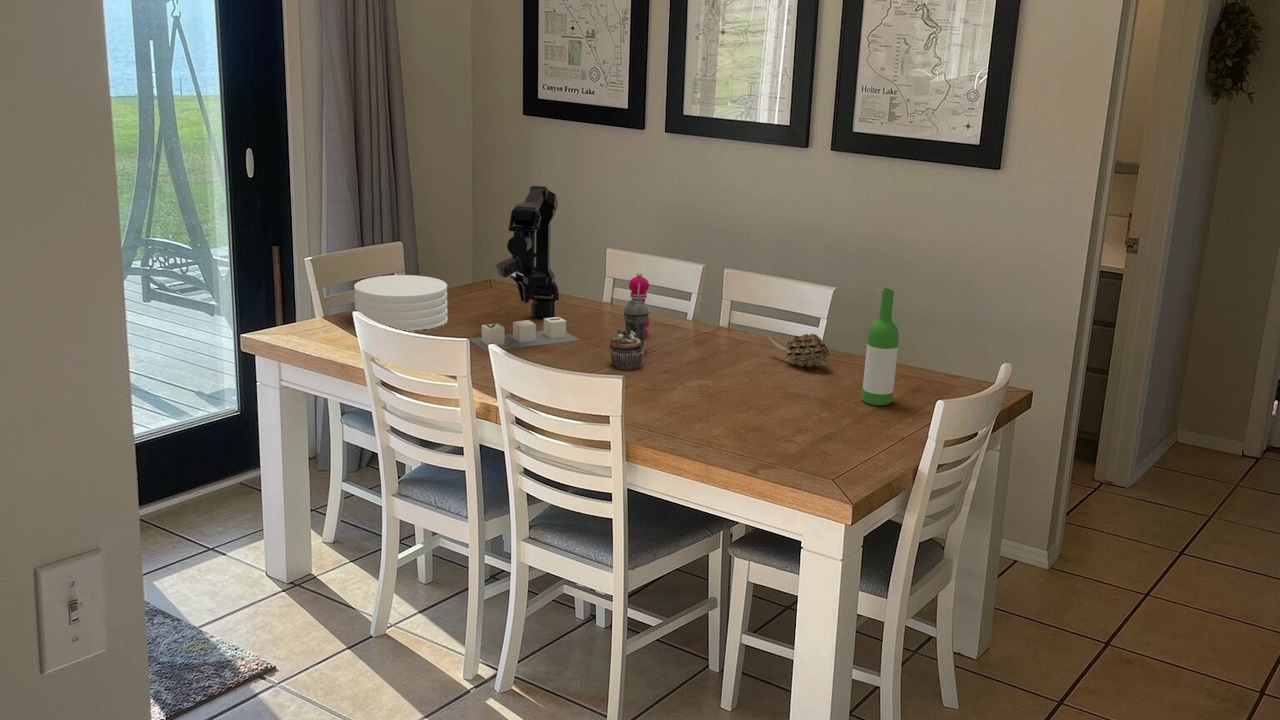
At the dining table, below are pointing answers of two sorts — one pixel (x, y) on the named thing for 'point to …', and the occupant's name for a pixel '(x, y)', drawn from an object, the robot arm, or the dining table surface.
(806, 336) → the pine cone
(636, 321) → the beverage cup
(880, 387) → the wine bottle
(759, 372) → the dining table surface
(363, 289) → the plate stack
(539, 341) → the mat
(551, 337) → the block one
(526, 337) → the plain block
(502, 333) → the block seven
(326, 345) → the dining table surface
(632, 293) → the pepper mill
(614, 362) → the cupcake
